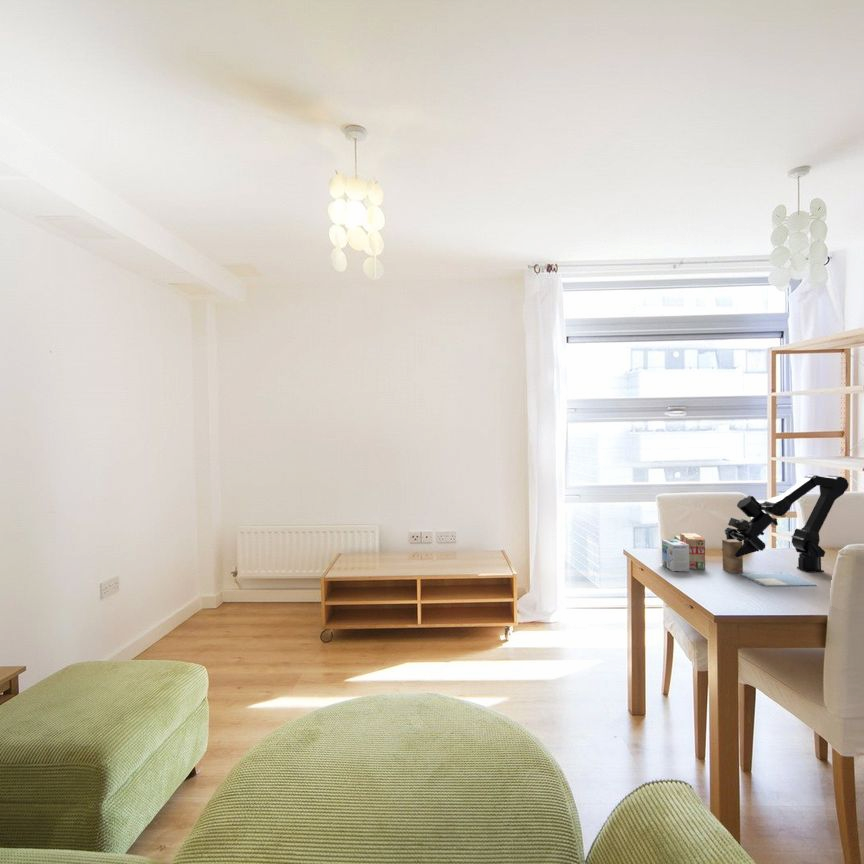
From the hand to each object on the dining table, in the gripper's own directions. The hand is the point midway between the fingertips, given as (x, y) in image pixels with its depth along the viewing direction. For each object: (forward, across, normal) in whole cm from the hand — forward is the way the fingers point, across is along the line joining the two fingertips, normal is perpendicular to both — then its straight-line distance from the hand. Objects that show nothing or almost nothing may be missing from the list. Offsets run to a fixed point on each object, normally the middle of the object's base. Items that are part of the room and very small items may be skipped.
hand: (729, 553), depth 199 cm
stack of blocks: (+11, -14, -1) cm, 18 cm away
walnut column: (+4, 0, +6) cm, 7 cm away
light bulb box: (+18, -5, -8) cm, 21 cm away
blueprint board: (-2, +12, +12) cm, 18 cm away
